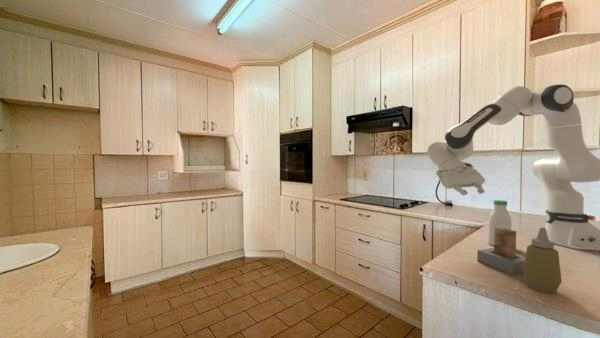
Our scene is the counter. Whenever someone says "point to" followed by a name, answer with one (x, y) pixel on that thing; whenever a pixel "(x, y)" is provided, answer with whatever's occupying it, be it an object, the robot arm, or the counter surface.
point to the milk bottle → (498, 219)
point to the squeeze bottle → (542, 264)
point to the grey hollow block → (501, 261)
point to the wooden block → (505, 243)
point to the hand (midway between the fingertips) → (474, 193)
